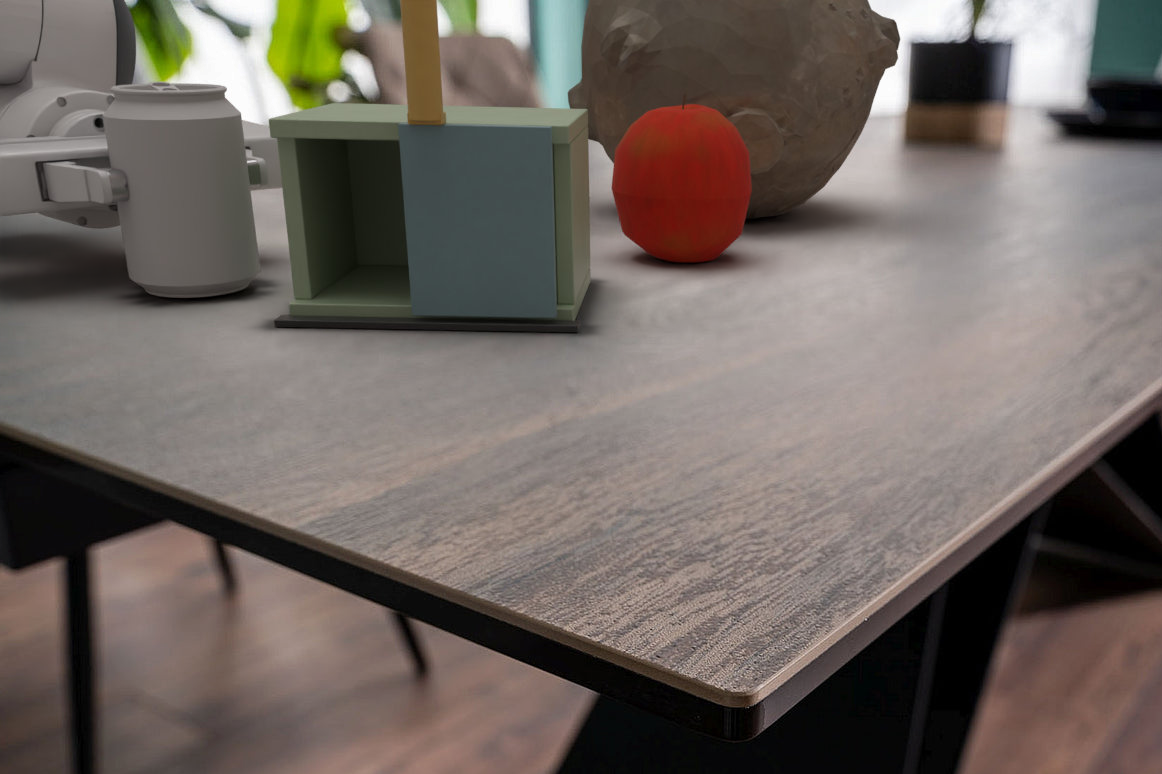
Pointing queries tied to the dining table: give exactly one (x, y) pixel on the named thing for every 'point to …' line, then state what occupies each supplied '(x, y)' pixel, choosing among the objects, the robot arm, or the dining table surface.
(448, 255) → the door
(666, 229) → the apple
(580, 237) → the cabinet
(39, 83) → the robot arm
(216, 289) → the can
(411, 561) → the dining table surface
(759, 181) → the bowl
